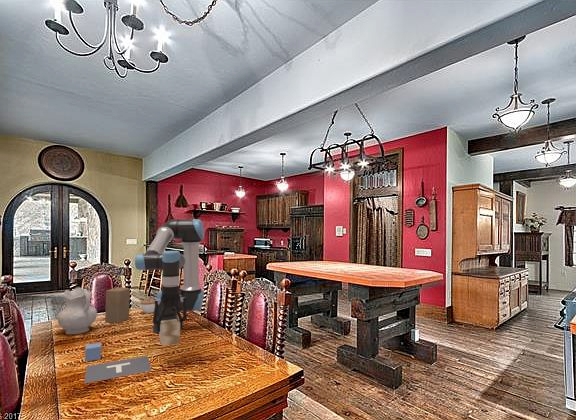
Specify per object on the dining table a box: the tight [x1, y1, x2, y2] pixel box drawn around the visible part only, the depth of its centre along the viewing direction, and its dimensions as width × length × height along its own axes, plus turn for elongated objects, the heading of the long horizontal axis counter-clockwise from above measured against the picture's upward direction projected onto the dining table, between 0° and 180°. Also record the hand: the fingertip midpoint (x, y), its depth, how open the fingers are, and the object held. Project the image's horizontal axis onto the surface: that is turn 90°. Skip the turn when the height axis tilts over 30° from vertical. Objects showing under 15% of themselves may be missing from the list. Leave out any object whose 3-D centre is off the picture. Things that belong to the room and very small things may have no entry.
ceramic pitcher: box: [56, 286, 98, 335], centre depth 191 cm, size 22×20×25 cm
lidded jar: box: [140, 298, 155, 314], centre depth 234 cm, size 11×11×9 cm
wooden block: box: [104, 287, 131, 324], centre depth 214 cm, size 10×10×20 cm
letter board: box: [83, 355, 153, 384], centre depth 140 cm, size 24×18×1 cm
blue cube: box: [84, 342, 102, 362], centre depth 151 cm, size 6×6×6 cm
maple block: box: [159, 319, 180, 347], centre depth 148 cm, size 7×7×9 cm
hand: (169, 337), depth 148 cm, fingers closed on maple block, 7 cm apart
